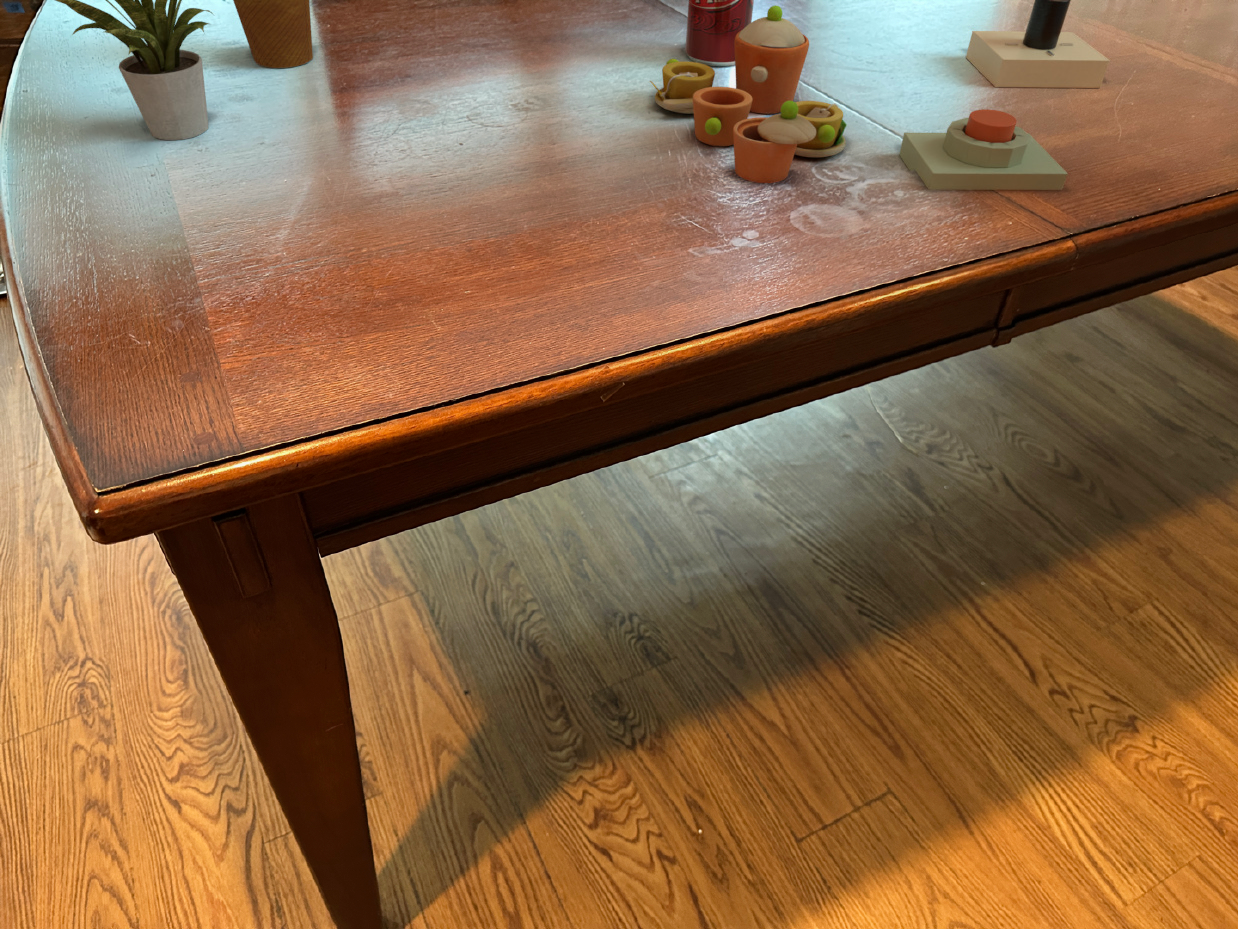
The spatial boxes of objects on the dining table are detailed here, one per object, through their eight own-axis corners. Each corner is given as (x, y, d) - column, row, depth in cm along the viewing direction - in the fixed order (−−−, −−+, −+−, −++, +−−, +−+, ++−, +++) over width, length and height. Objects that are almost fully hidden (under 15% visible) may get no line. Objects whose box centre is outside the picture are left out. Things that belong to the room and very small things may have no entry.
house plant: (205, 87, 97) (158, -92, 86) (294, 119, 91) (255, -69, 81) (77, 128, 88) (6, -66, 78) (166, 166, 82) (103, -38, 72)
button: (1001, 128, 85) (1007, 109, 84) (1017, 146, 82) (1023, 126, 81) (958, 128, 84) (963, 108, 83) (973, 145, 81) (978, 126, 80)
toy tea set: (639, 94, 99) (642, -4, 92) (773, 83, 102) (785, -13, 96) (733, 201, 80) (746, 87, 74) (893, 182, 84) (918, 72, 77)
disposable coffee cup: (222, 58, 104) (192, -63, 96) (295, 39, 109) (272, -77, 101) (271, 79, 99) (245, -46, 91) (345, 59, 105) (325, -61, 97)
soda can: (713, 43, 112) (722, -70, 104) (760, 58, 108) (773, -57, 101) (671, 56, 108) (678, -60, 100) (719, 72, 104) (730, -47, 97)
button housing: (1021, 155, 89) (1035, 113, 86) (1059, 197, 82) (1075, 153, 80) (898, 154, 88) (908, 112, 86) (926, 196, 82) (938, 152, 79)
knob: (1048, 39, 107) (1064, -11, 103) (1061, 49, 104) (1077, -2, 100) (1017, 39, 106) (1032, -12, 103) (1029, 49, 104) (1045, -3, 100)
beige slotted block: (1063, 58, 111) (1072, 30, 109) (1100, 87, 104) (1110, 58, 102) (965, 57, 111) (972, 29, 109) (995, 87, 103) (1003, 57, 101)
